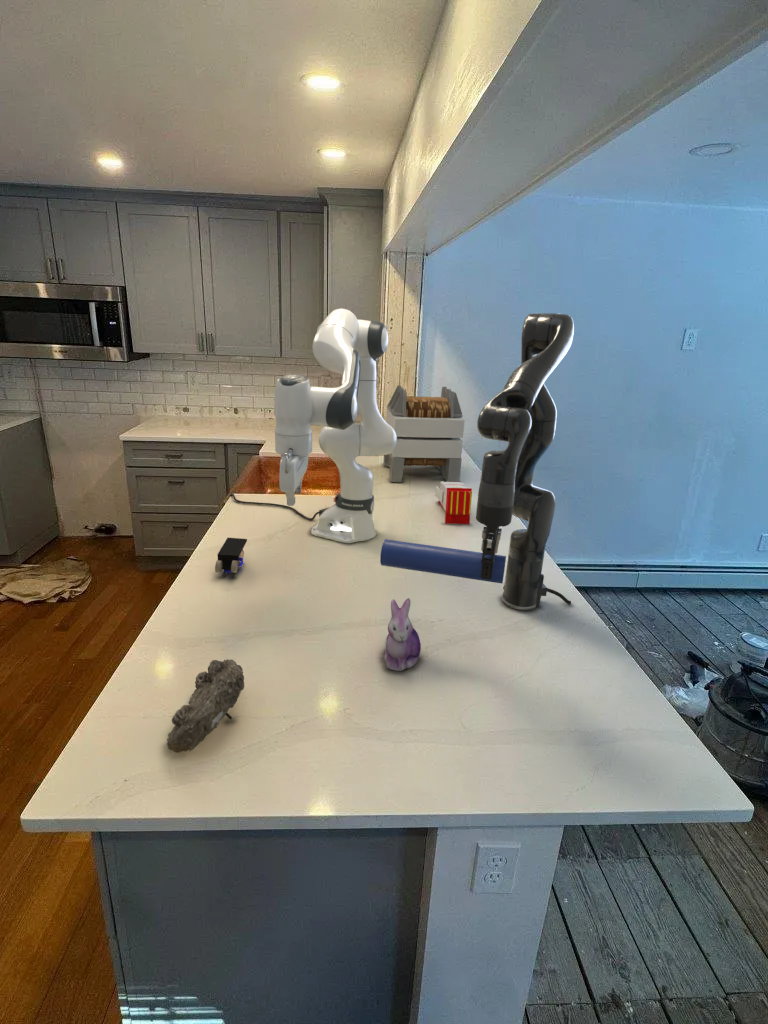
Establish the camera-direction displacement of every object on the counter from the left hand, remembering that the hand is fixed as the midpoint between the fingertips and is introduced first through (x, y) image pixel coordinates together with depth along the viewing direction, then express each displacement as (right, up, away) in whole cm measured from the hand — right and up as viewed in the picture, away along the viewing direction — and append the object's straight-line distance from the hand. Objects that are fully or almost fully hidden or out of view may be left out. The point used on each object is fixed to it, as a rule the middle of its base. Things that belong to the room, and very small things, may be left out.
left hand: (294, 498), depth 141 cm
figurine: (+26, -37, -13) cm, 47 cm away
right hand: (+45, -17, -16) cm, 51 cm away
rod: (+35, -17, -13) cm, 41 cm away
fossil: (-10, -42, -33) cm, 55 cm away
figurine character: (-22, -20, +26) cm, 40 cm away
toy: (+49, -3, +83) cm, 96 cm away
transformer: (+40, +15, +134) cm, 140 cm away
